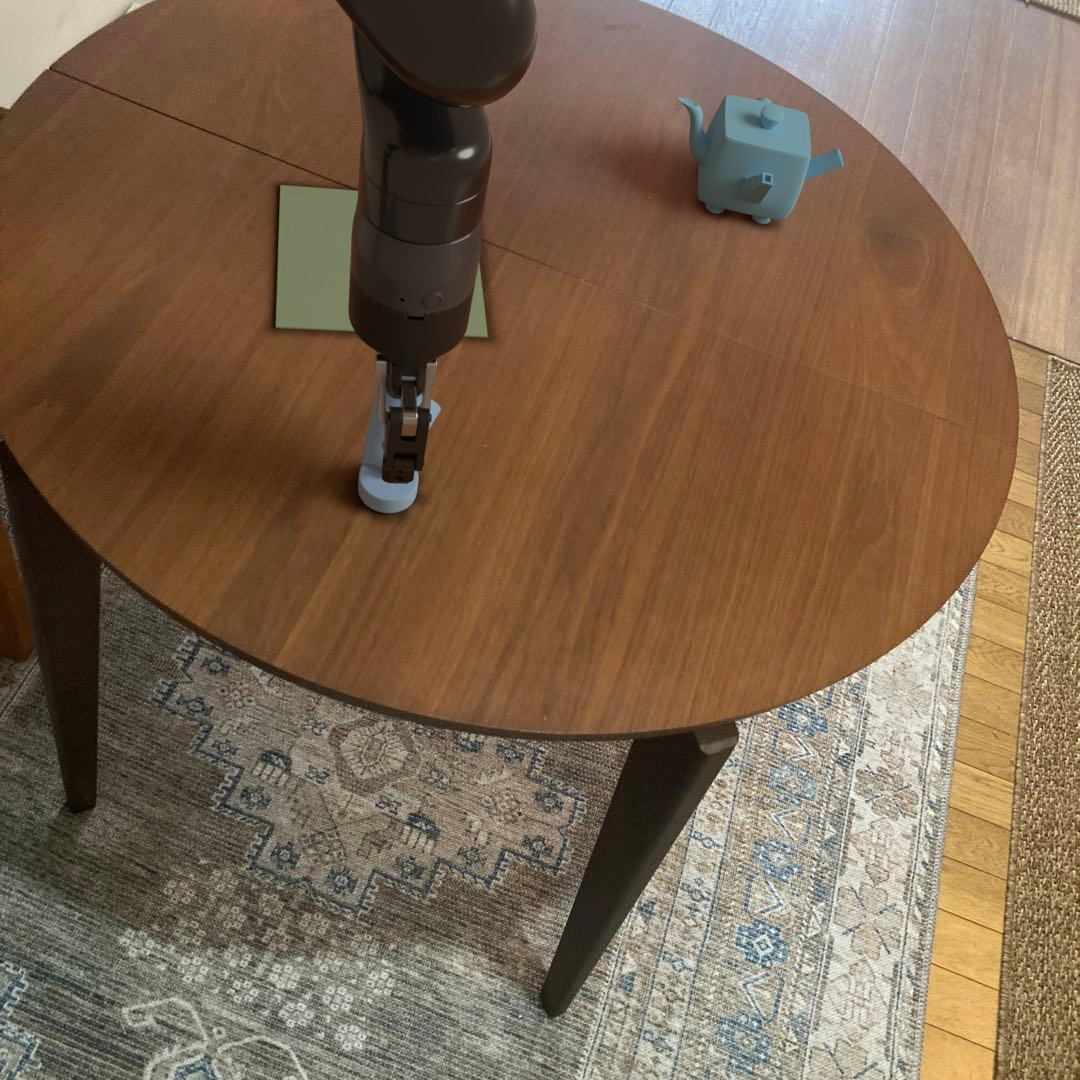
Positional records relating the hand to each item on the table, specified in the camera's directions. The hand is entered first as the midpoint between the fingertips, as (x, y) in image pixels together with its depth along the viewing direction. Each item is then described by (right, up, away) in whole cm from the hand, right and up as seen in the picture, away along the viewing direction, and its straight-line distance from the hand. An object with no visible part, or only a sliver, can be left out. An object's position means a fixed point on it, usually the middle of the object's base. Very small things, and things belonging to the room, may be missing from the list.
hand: (395, 436), depth 75 cm
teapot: (+31, +28, +33) cm, 53 cm away
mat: (-4, +18, +18) cm, 26 cm away
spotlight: (-1, -3, +5) cm, 6 cm away
